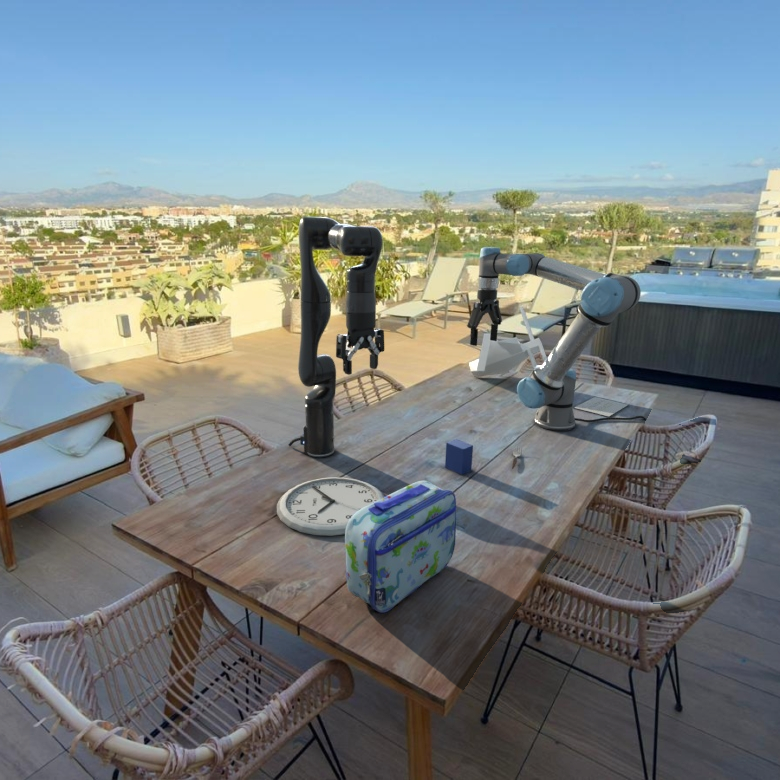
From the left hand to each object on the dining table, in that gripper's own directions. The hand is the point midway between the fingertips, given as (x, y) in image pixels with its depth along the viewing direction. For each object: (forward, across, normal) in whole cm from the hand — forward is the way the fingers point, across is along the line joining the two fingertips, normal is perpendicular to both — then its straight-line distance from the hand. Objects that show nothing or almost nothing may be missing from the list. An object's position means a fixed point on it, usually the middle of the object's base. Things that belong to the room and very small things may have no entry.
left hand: (360, 371), depth 137 cm
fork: (+37, -54, +15) cm, 67 cm away
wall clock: (+37, +9, -1) cm, 38 cm away
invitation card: (+37, -129, +7) cm, 134 cm away
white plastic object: (+37, -127, -40) cm, 138 cm away
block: (+37, -35, +6) cm, 51 cm away
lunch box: (+37, +17, +35) cm, 54 cm away
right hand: (+7, -82, -23) cm, 85 cm away
